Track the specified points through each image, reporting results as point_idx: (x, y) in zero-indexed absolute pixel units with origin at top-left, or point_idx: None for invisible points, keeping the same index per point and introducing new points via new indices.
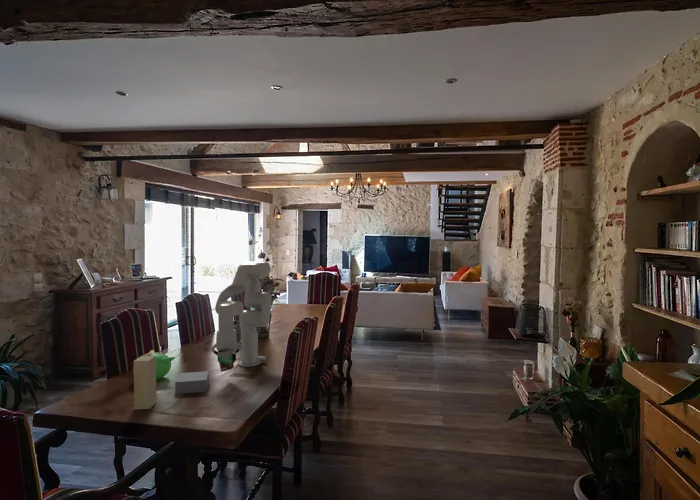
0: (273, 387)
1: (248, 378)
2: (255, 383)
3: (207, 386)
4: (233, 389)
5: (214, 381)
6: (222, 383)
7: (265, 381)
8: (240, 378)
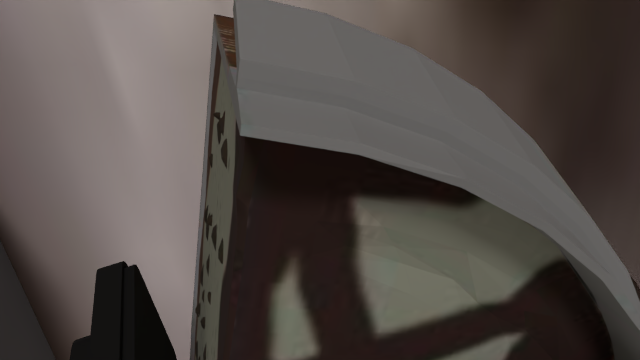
0: (637, 270)
1: (473, 17)
2: None
3: (37, 331)
4: None
5: (40, 120)
6: (185, 195)
7: (616, 130)
8: (380, 9)
